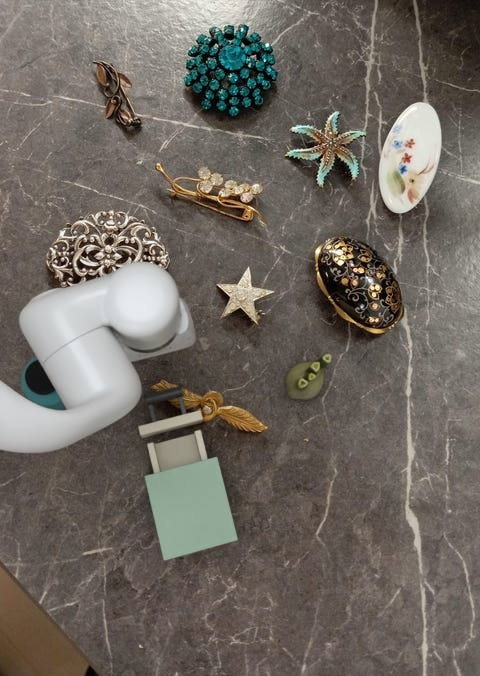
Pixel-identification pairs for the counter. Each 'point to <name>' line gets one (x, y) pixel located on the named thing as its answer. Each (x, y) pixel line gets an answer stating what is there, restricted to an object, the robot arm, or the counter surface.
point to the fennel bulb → (306, 378)
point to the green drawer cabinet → (190, 508)
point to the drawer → (178, 448)
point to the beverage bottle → (40, 386)
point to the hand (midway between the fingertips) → (153, 342)
